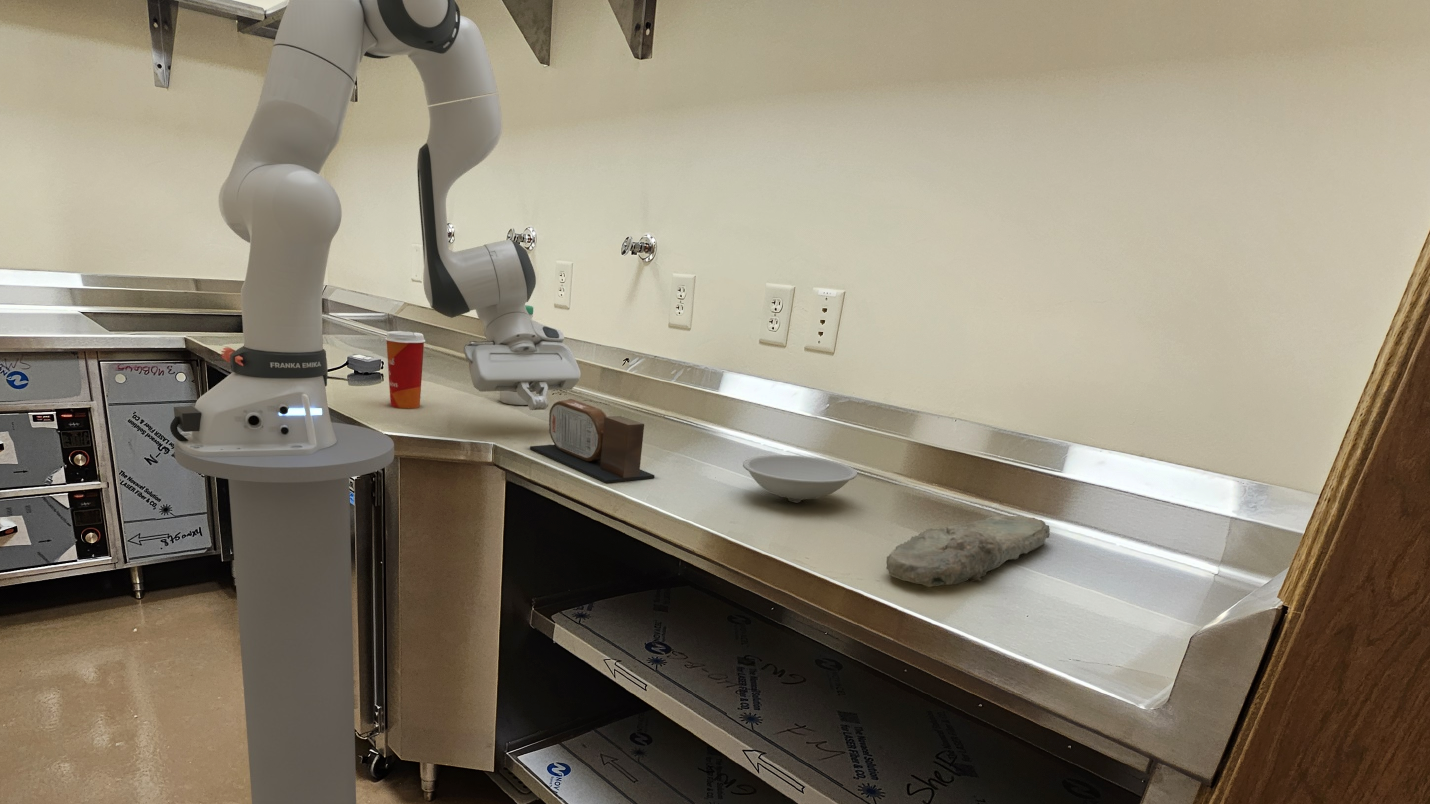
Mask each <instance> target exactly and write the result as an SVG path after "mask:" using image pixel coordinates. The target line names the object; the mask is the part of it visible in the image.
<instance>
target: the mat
mask: <svg viewBox="0 0 1430 804" xmlns="http://www.w3.org/2000/svg"><path fill="white" fill-rule="evenodd" d="M529 450H530V451H533V452H536V453H538V454H540V455H542V456H544V457H547V458H549V459H551V460H553V461H556V462H557V463H560V464H563V465H565V466H567V467H569V468H572V469H573V470H576V471H579V472H580V473H582V474H584V475H587V476H590V477H592V478H594V479H596V480H598V481H600V482H602V483H605V484H613V483H621V482H623V483H624V482H630V481H641V480H642V481H643V480H650V479H655V474H653V473H651V472H648V471H645V470H643V469H641V468H640V472H639V477H631V478H622V477H619V476H617V475H615V474H612V473H610V472H607V471H605V470H603V469H600V464H601V461H599V460H597V461H590V462H588V461H584V460H582V459H580V458H578V457H575V456H573V455H571V454H568V453H566V452H564V451H562V450H560V449H558V448H557V447H556V446H555V444H554V443H553V444H543V445H540V444H539V445H530V446H529Z"/></svg>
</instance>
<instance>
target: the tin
mask: <svg viewBox="0 0 1430 804" xmlns="http://www.w3.org/2000/svg"><path fill="white" fill-rule="evenodd" d="M548 415H549V417H548V427H549V428H548V429H549V436H550V438H551V441H552V442H553V445H554V444H555V446H556V447H557V448H558V449H560V450H562V451H564V452H566V453H568V454H571V455H573V456H575V457H578V458H580V459H582V460H584V461H588V462H590V461H597V460H599V461H601V452H602V440H603V428H604V417H608V415H607V414H606V413H605V412H604V410H602V409H601V408H599V407H596V406H593V405H591V404H588V403H585V402H582V401H579V400H578V399H574V398H568V399H564V400H559V401H556V402H554V403H553V404H552V406H551V407H550V409H549V414H548Z"/></svg>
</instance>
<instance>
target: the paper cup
mask: <svg viewBox="0 0 1430 804" xmlns="http://www.w3.org/2000/svg"><path fill="white" fill-rule="evenodd" d="M384 340H385V341H386V355H387V373H388V389H389V399H390V400H389V401H390V406H391V407H392V408H397V409H409V410H410V409H417V408H419V407H420V405H421V395H422V394H421V392H422V379H423V378H422V377H423V366H424V365H423V364H424V363H423V362H424V350H425V349H424V348H425V347H424V346H425V343H426V339H425V337H424V334H423V333H421V332H413V331H404V330H393V331H387V332H386V337H384Z"/></svg>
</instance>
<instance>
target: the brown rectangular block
mask: <svg viewBox="0 0 1430 804" xmlns="http://www.w3.org/2000/svg"><path fill="white" fill-rule="evenodd" d="M644 429H645V423H643V422H639V421H636V420H634V419H630V418H628V417H625V416H622V415H613V416H611V415H609V416H607V417H604V428H603V440H602V452H601V464H600V469H603V470H605V471H607V472H610V473H612V474H615V475H617V476H619V477H622V478H631V477H639V472H640V469H641V461H642V453H643V452H642V450H643V441H644V432H645V430H644Z"/></svg>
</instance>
